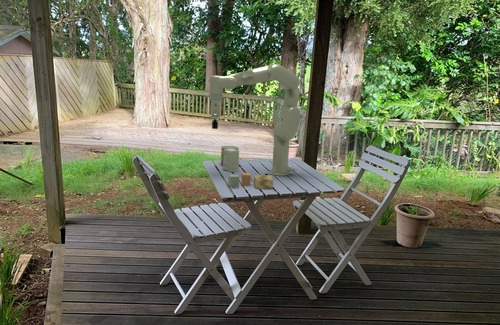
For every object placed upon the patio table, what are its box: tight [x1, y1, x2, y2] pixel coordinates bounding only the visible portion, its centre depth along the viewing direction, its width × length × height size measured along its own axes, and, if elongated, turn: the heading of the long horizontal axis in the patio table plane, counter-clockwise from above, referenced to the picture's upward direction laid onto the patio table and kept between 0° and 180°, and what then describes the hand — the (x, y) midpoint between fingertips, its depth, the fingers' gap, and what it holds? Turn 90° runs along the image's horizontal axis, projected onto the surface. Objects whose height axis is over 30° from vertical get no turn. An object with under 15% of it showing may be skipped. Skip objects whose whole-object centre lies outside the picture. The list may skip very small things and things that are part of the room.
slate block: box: [227, 174, 240, 188], centre depth 198 cm, size 4×4×6 cm
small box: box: [222, 149, 240, 173], centre depth 233 cm, size 8×6×13 cm
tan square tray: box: [253, 174, 274, 190], centre depth 201 cm, size 9×9×5 cm
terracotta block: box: [240, 172, 252, 187], centre depth 203 cm, size 4×4×6 cm
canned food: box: [220, 145, 239, 167], centre depth 246 cm, size 11×11×12 cm
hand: (214, 127), depth 216 cm, fingers open, 9 cm apart
